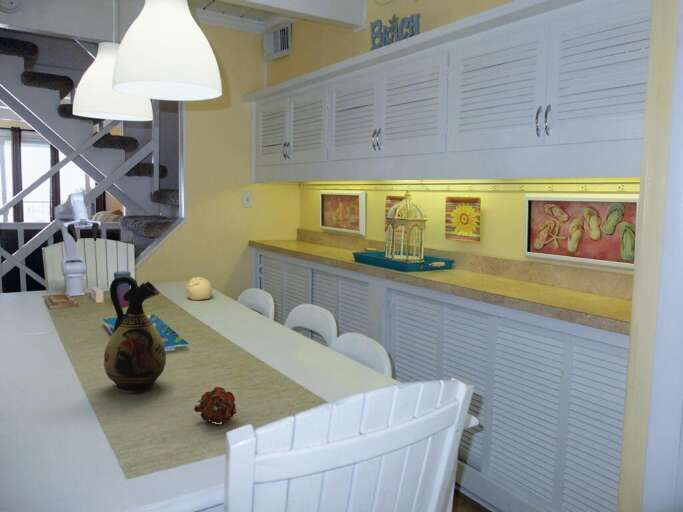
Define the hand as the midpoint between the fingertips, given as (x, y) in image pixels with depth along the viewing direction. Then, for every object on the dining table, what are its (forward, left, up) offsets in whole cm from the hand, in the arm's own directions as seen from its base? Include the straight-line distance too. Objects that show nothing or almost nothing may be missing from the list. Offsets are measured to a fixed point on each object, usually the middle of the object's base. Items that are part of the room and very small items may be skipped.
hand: (86, 240), depth 235 cm
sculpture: (+9, +47, -29) cm, 56 cm away
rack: (-9, -9, -29) cm, 31 cm away
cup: (+8, +13, -29) cm, 33 cm away
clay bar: (-10, +6, -29) cm, 31 cm away
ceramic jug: (+109, -7, -29) cm, 113 cm away
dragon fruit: (+140, +4, -29) cm, 143 cm away
